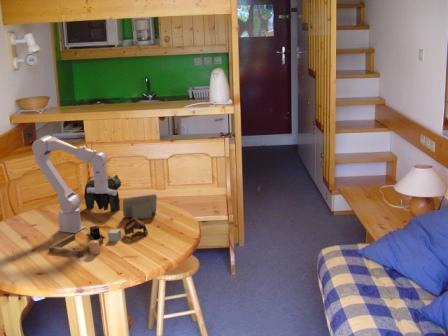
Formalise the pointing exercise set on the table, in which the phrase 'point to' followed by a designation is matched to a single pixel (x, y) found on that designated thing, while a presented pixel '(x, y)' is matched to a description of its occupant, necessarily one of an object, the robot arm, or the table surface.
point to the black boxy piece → (94, 233)
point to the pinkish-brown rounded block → (94, 247)
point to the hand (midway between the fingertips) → (103, 209)
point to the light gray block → (114, 235)
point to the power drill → (114, 200)
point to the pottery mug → (135, 226)
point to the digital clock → (139, 206)
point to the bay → (57, 249)
